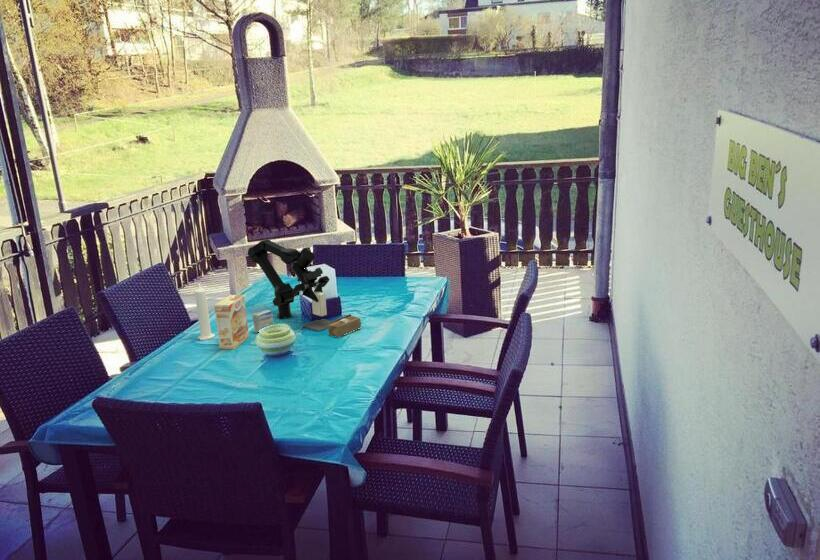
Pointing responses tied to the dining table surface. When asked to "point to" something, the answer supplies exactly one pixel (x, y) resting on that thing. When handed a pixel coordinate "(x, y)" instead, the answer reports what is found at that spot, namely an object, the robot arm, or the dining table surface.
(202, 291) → the candle
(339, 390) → the dining table surface
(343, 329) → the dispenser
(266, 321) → the medicine box
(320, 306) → the cream pillar
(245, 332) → the coffeecake box
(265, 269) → the robot arm
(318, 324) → the mat
